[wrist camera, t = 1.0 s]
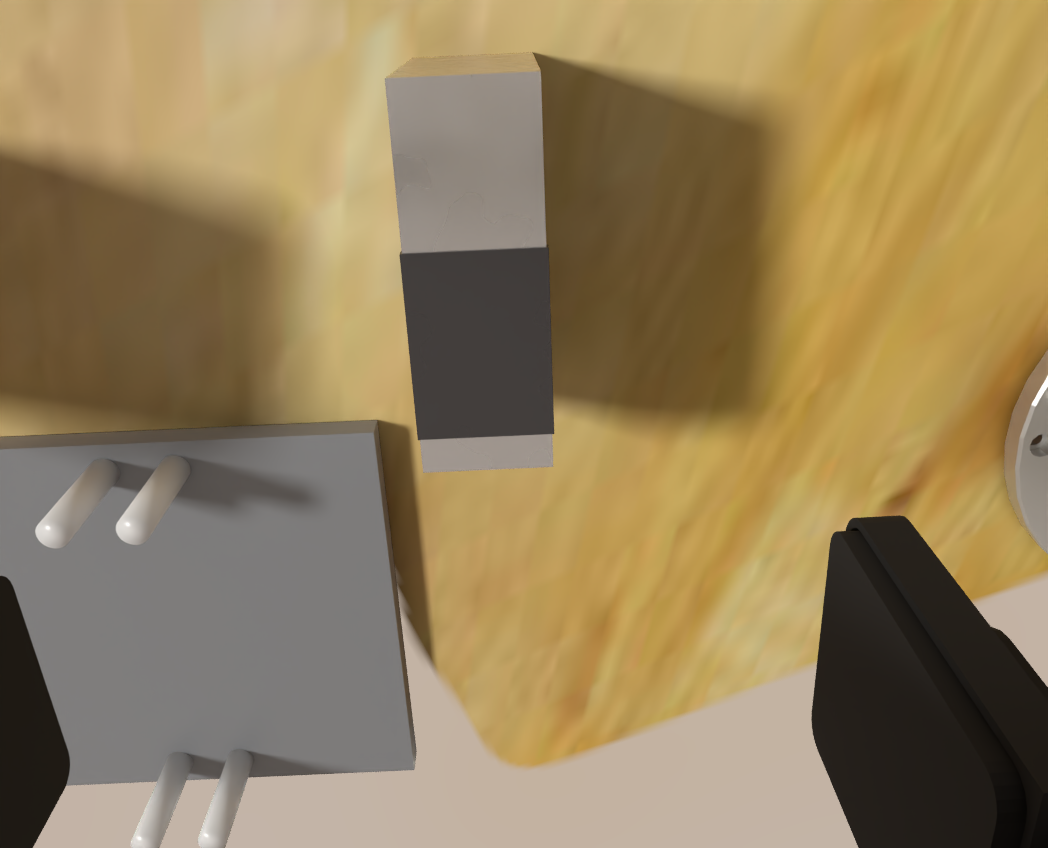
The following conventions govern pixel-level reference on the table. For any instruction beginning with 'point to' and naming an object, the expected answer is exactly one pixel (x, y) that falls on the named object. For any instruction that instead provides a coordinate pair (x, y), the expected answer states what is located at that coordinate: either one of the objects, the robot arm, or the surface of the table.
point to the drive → (474, 258)
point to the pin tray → (210, 605)
